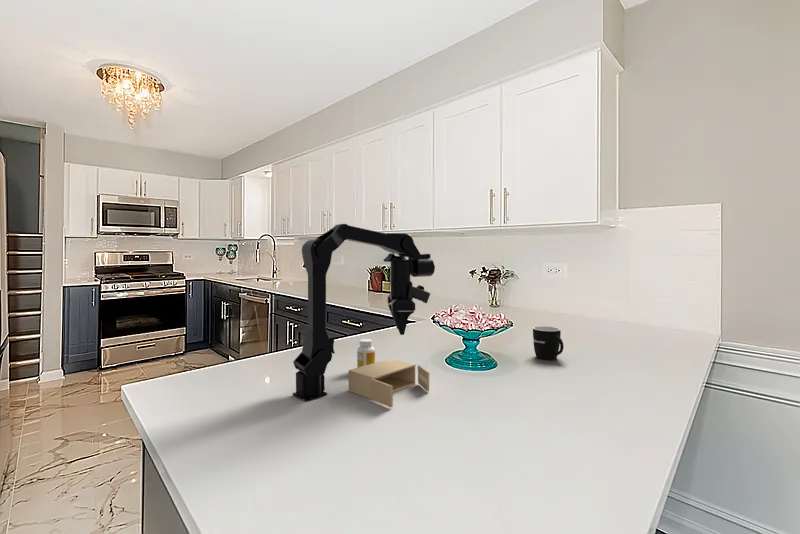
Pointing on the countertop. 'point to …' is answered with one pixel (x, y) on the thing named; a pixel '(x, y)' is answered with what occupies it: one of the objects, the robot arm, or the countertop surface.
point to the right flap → (423, 377)
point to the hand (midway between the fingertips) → (400, 331)
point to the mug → (547, 342)
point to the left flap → (382, 392)
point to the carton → (381, 376)
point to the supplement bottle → (365, 353)
